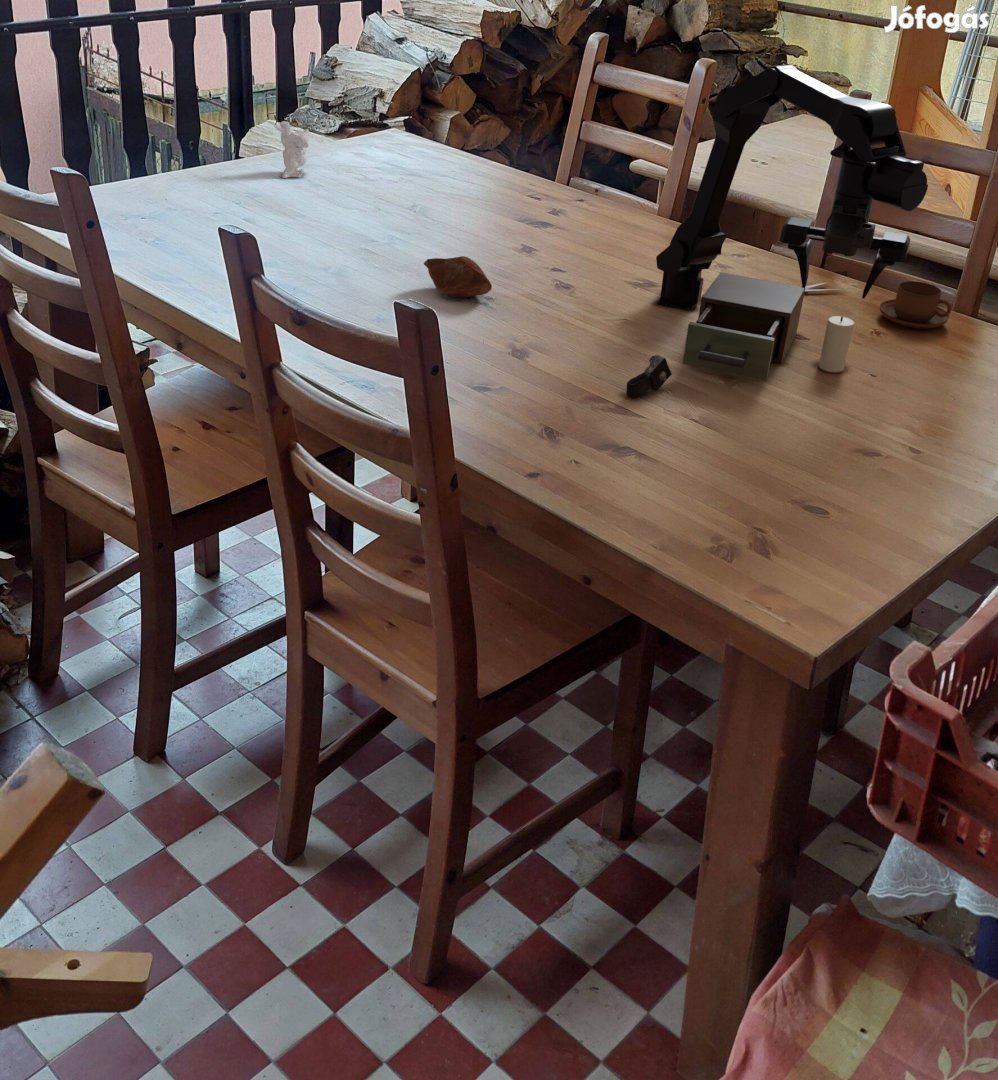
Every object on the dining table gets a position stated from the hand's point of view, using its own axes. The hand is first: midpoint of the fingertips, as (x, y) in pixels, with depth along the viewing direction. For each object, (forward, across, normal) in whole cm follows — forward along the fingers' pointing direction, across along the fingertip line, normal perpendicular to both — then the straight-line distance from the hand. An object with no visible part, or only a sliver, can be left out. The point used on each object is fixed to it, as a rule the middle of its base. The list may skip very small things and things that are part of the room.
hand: (833, 292), depth 184 cm
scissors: (+13, -10, +33) cm, 37 cm away
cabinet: (+13, -13, +6) cm, 19 cm away
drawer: (+12, -13, -7) cm, 19 cm away
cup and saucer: (+13, +12, +30) cm, 35 cm away
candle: (+13, +2, +2) cm, 13 cm away
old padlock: (+13, -22, -22) cm, 34 cm away
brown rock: (+13, -64, +2) cm, 65 cm away
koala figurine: (+13, -127, +54) cm, 139 cm away
